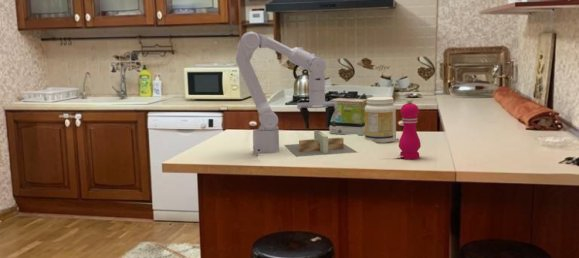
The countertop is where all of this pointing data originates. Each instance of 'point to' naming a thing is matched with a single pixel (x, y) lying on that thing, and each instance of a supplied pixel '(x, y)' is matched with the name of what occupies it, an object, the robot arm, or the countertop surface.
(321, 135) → the sage notched plate
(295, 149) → the board
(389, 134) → the supplement tub
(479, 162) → the countertop surface
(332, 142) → the oak slotted plate
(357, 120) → the tea box
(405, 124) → the pepper mill
